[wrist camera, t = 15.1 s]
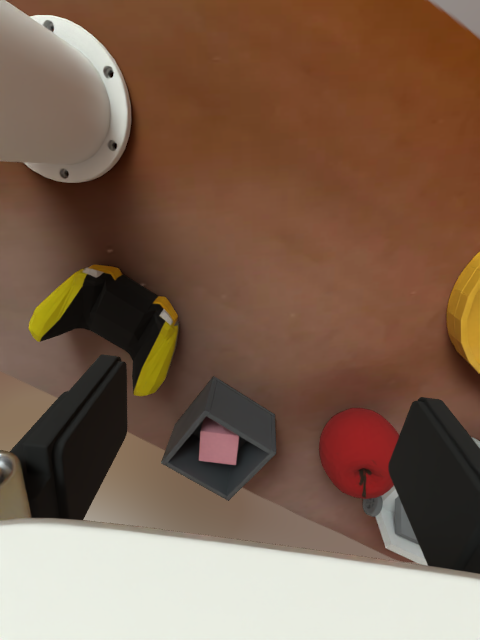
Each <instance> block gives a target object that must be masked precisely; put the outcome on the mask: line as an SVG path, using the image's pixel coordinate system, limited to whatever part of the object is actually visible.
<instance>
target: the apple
mask: <svg viewBox="0 0 480 640" xmlns="http://www.w3.org/2000/svg"><path fill="white" fill-rule="evenodd" d="M398 438H399V434H398V433H397V431H396V430H395V429H394V428H393V426H392V425H391V424H390V423H389V422H388V421H387V420H386V419H385V418H383V417H382V416H381V415H380V414H378V413H376V412H374V411H371V410H368V409H363V408H350V409H348V410H345V411H342V412H340V413H337V414H336V415H335V416H333V417H332V418H331V419H330V420H329V421H328V423H327V424H326V426H325V427H324V429H323V431H322V434H321V437H320V442H319V453H320V459H321V463H322V466H323V468H324V470H325V472H326V474H327V475H328V477H329V478H330V480H331V481H332V482H333V484H334V485H335V486H336V487H337V488H338V489H339V490H340V491H342V492H343V493H345V494H347V495H350V496H353V497H357V498H364V499H370V498H377V497H379V496H381V495H384V494H385V493H386V492H388V491H389V490H390V489H391V488H392V487H393V486H394V484H393V482H392V480H391V477H390V475H389V470H388V465H389V461H390V459H391V456H392V453H393V451H394V448H395V446H396V443H397V441H398Z"/></svg>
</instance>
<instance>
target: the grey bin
mask: <svg viewBox="0 0 480 640" xmlns="http://www.w3.org/2000/svg"><path fill="white" fill-rule="evenodd" d="M206 416H207V417H208V418H210V419H212V420H213V421H215V422H217V423H218V424H220V425H222V426H223V427H225V428H227V429H228V430H230V431H232V432H233V433H235V434H237V435H238V436H239V444H238V453H237V462H236V465H230V464H222V463H213V462H205V461H199V446H200V430H201V427H202V423H203V420H204V419H205V417H206ZM275 454H276V431H275V414H273V413H271V412H270V411H268V410H267V409H265V408H264V407H262V406H260V405H259V404H257V403H256V402H254V401H252V400H251V399H249V398H248V397H246V396H244V395H243V394H241V393H240V392H238V391H236V390H235V389H233V388H232V387H230V386H229V385H227V384H225V383H224V382H222V381H221V380H219V379H217V378H216V377H214V376H213V377H212V379H211V380H210V381H209V382H208V384H207V385H206V386H205V387H204V389H203V390H202V391H201V393H200V394H199V395H198V396H197V398H196V399H195V400H194V401H193V403H192V404H191V405H190V406H189V408H188V409H187V410H186V411H185V413H184V414H183V415H182V416H181V418H180V419H179V420H178V421H177V423H176V424H175V426H174V429H173V431H172V434H171V437H170V440H169V442H168V445H167V448H166V450H165V453H164V456H163V459H162V461H161V463H162V464H163V465H166V466H167V467H169V468H171V469H172V470H174V471H176V472H178V473H180V474H181V475H183V476H185V477H187V478H188V479H190V480H192V481H194V482H196V483H197V484H199V485H201V486H203V487H205V488H206V489H208V490H210V491H212V492H214V493H215V494H217V495H219V496H221V497H223V498H225V499H226V500H228V501H229V500H230V499H231V498H232V497H233V496H234V495H235V494H236V493H237V492H238V491H239V490H240V489H241V488H242V487H243V486H244V485H245V484H246V483H247V482H248V481H249V480H250V479H251V478H252V477H253V476H254V475H255V474H256V473H257V472H258V471H259V470H260V469H261V468H262V467H263V466H264V465H265V464H266V463H267V462H268V461H269V460H270V459H271V458H272V457H273V456H274V455H275Z"/></svg>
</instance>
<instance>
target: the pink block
mask: <svg viewBox="0 0 480 640" xmlns="http://www.w3.org/2000/svg"><path fill="white" fill-rule="evenodd" d="M238 444H239V436H238V435H237V434H235V433H233V432H232V431H230V430H228V429H227V428H225V427H223V426H222V425H220V424H218V423H217V422H215V421H213V420H212V419H210V418H208V417H207V416H206V417H205V419H204V420H203V423H202V427H201V430H200V446H199V461H205V462H213V463H222V464H230V465H236V462H237V453H238Z"/></svg>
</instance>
